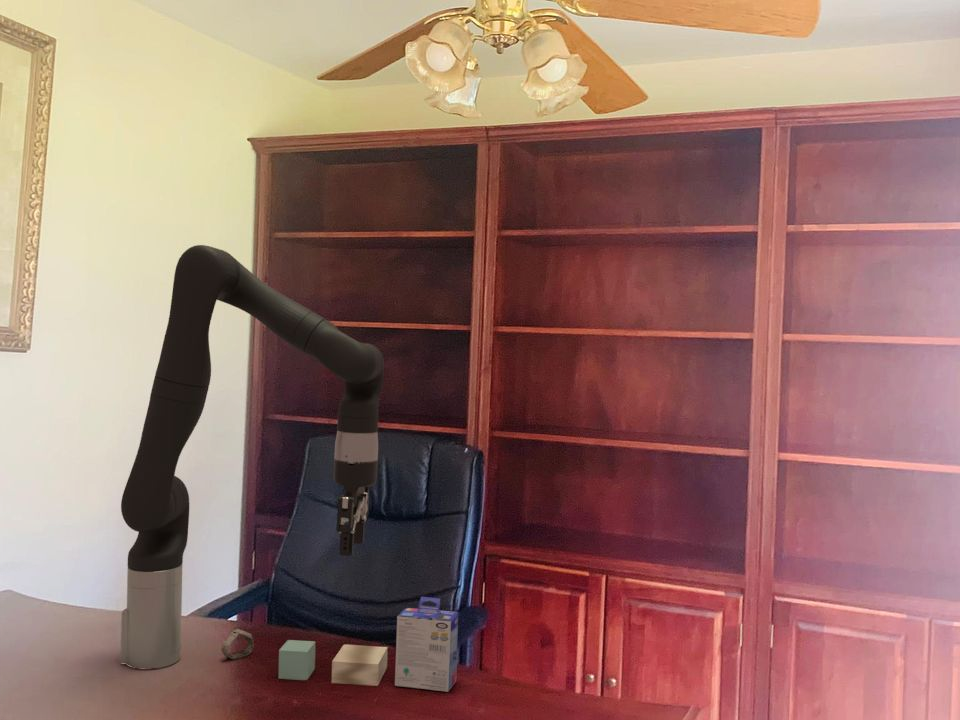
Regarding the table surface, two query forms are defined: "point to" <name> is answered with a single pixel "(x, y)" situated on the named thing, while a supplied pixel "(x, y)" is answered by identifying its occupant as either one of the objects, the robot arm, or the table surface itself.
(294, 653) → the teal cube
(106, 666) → the table surface
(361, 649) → the ash block
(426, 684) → the ink cartridge box
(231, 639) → the wristwatch
